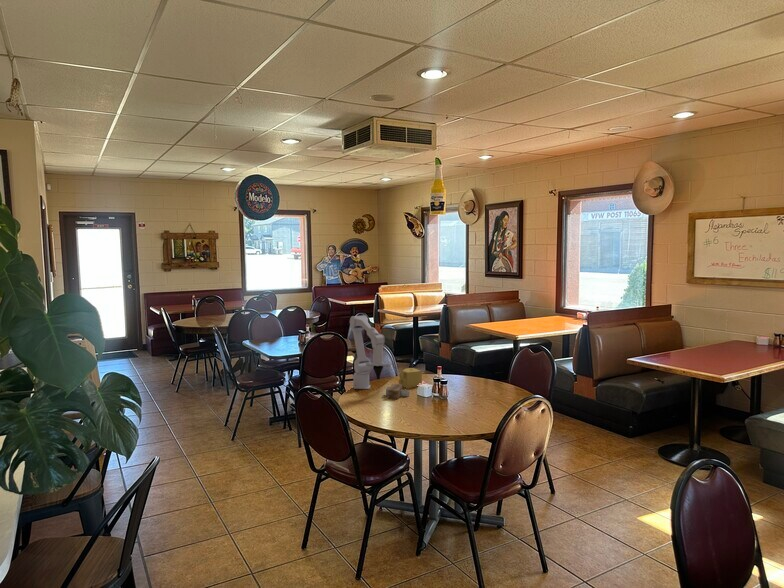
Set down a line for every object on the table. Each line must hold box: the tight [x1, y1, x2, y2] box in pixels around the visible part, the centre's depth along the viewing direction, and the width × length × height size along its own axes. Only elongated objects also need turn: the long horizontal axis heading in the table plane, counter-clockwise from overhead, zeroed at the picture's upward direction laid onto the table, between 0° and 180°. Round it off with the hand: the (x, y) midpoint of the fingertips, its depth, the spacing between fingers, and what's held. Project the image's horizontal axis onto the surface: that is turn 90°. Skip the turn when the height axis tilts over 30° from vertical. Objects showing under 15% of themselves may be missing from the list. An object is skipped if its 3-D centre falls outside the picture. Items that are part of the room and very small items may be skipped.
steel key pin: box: [385, 386, 410, 398], centre depth 313 cm, size 13×6×4 cm, turn 81°
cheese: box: [398, 367, 423, 389], centre depth 335 cm, size 10×11×10 cm
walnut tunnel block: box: [387, 383, 403, 400], centre depth 313 cm, size 6×14×5 cm, turn 171°
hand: (378, 378), depth 314 cm, fingers closed
